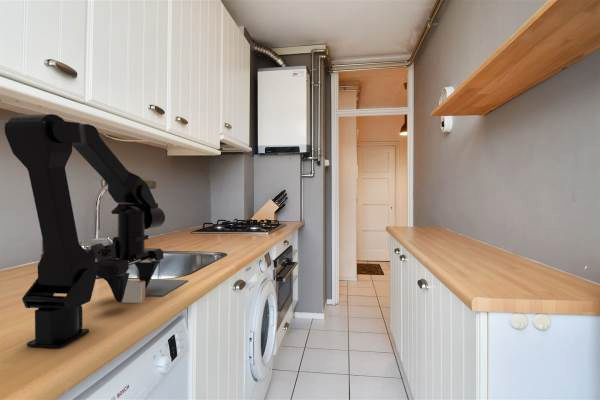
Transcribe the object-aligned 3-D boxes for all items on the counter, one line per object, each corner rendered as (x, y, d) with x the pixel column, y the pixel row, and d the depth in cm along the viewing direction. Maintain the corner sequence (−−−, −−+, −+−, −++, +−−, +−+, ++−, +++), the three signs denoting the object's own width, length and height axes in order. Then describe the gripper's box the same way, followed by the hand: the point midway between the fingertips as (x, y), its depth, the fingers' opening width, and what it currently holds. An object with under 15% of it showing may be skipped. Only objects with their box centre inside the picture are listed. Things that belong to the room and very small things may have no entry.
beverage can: (92, 279, 94) (92, 240, 94) (88, 276, 98) (88, 239, 97) (110, 276, 98) (110, 239, 98) (105, 274, 101) (105, 237, 101)
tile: (141, 303, 74) (141, 282, 74) (118, 302, 75) (117, 281, 74) (145, 301, 76) (145, 280, 75) (122, 300, 76) (122, 280, 76)
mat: (162, 296, 79) (162, 295, 78) (122, 295, 80) (122, 293, 80) (188, 281, 92) (188, 280, 92) (153, 280, 94) (153, 279, 94)
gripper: (126, 227, 85) (126, 283, 85) (68, 236, 66) (69, 308, 67) (164, 228, 84) (164, 285, 84) (116, 237, 65) (116, 310, 65)
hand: (131, 295), depth 75 cm, fingers open, 9 cm apart
